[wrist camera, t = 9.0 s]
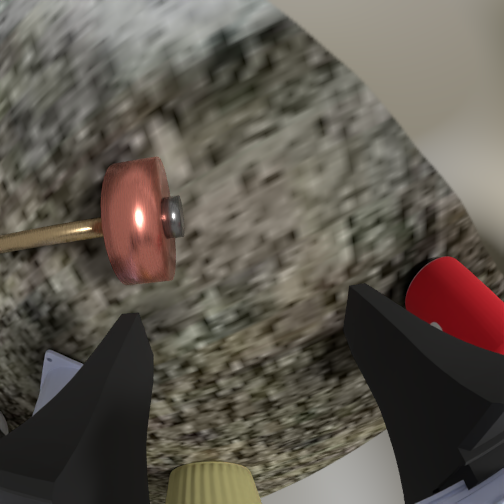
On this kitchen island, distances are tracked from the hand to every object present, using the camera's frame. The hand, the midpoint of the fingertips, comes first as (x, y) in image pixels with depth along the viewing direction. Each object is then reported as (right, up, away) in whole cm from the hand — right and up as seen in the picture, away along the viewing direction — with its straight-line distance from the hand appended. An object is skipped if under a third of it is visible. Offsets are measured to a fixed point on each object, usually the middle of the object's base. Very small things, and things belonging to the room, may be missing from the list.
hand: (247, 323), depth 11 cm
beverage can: (+15, 0, +14) cm, 21 cm away
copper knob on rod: (-13, +5, +7) cm, 15 cm away
